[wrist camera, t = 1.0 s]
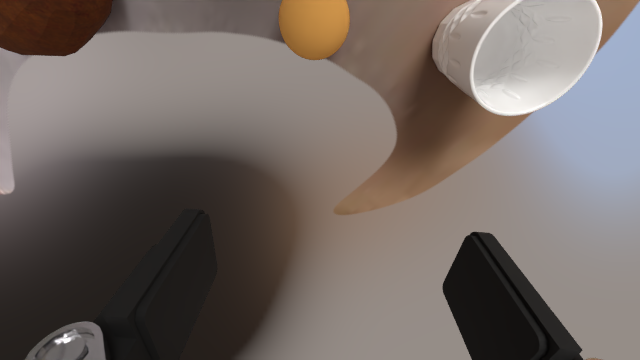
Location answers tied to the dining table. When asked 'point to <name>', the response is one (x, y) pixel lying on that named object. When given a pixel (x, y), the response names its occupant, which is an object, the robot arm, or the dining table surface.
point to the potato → (50, 25)
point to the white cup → (517, 50)
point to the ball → (314, 26)
